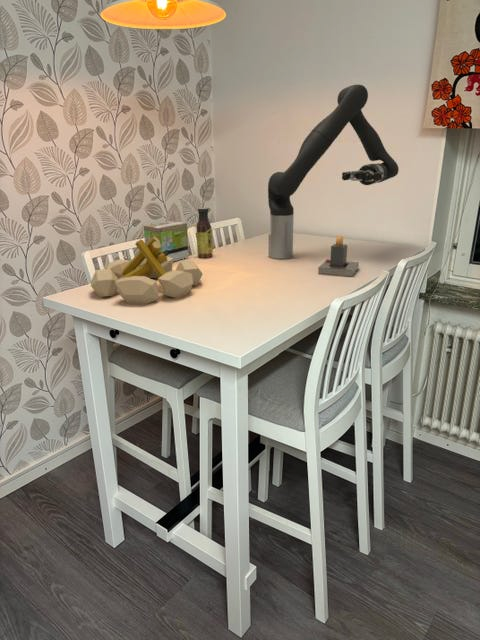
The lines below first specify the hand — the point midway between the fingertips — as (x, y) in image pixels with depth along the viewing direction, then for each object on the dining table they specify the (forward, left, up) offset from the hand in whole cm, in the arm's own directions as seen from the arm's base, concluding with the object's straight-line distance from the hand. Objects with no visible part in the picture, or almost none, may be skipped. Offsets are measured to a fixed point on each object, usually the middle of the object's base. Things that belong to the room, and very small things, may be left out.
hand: (355, 177), depth 175 cm
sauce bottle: (-59, -6, -32) cm, 67 cm away
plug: (-2, -11, -32) cm, 33 cm away
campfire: (-56, -52, -32) cm, 84 cm away
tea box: (-71, -16, -32) cm, 80 cm away
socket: (-2, -11, -32) cm, 34 cm away
